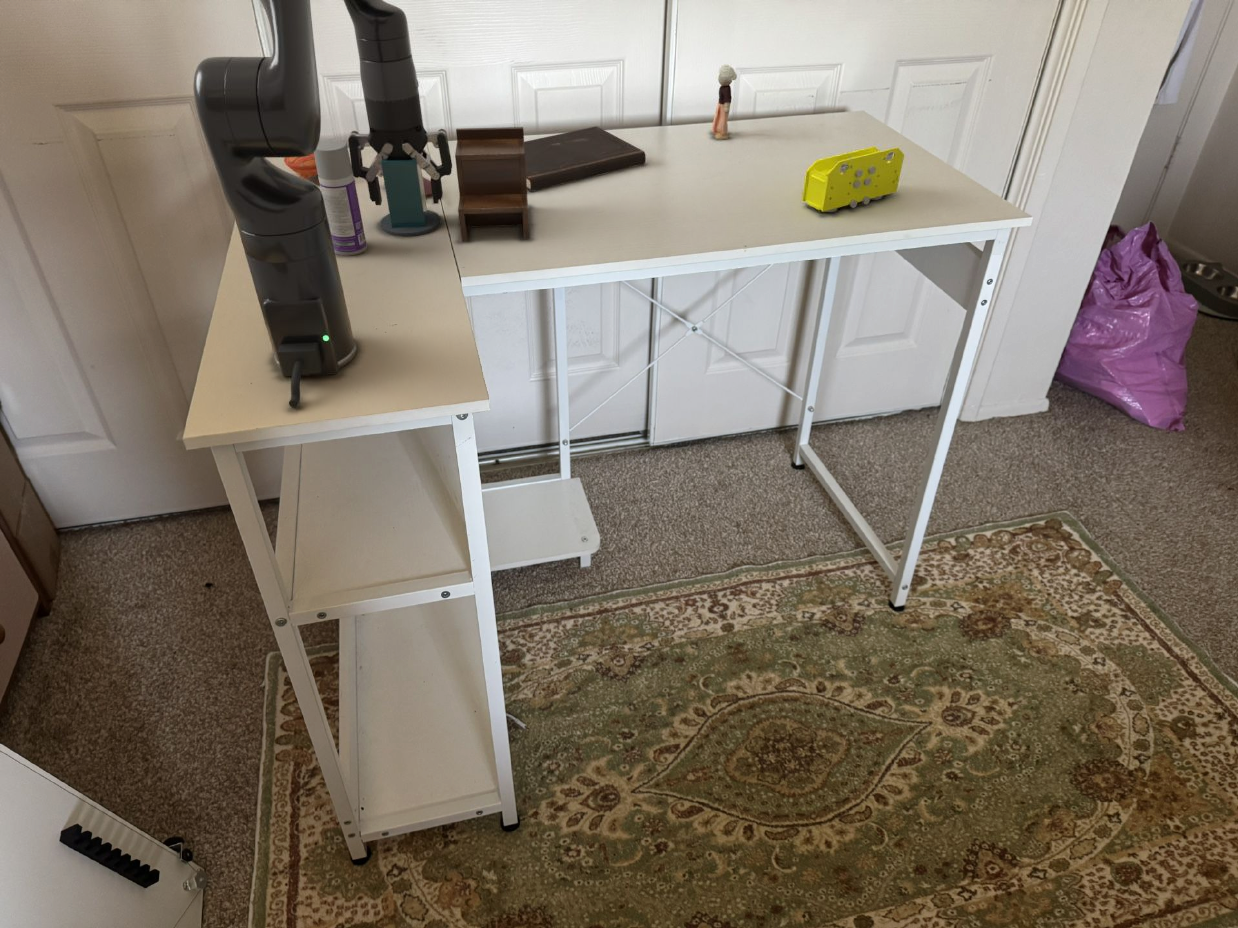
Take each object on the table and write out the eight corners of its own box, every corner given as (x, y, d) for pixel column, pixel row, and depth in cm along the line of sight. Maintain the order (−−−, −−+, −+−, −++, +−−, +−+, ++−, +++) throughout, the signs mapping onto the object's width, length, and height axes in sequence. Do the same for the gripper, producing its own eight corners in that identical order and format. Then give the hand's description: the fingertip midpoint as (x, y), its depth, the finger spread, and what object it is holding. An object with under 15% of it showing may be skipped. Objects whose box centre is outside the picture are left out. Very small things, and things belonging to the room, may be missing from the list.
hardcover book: (486, 163, 153) (485, 149, 151) (596, 138, 163) (596, 126, 161) (531, 193, 142) (530, 179, 141) (645, 165, 152) (646, 152, 151)
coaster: (438, 235, 130) (438, 232, 129) (377, 237, 129) (377, 234, 129) (442, 210, 137) (441, 207, 136) (384, 212, 136) (383, 209, 136)
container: (353, 238, 129) (333, 136, 119) (373, 247, 126) (354, 144, 117) (327, 249, 126) (304, 145, 116) (347, 258, 123) (325, 153, 114)
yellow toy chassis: (823, 218, 136) (832, 165, 130) (799, 205, 139) (807, 153, 134) (897, 197, 142) (908, 146, 137) (872, 186, 146) (882, 135, 141)
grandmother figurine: (706, 130, 167) (711, 60, 159) (725, 129, 167) (731, 59, 159) (716, 144, 161) (722, 72, 153) (736, 143, 161) (743, 71, 153)
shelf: (529, 239, 129) (524, 155, 121) (461, 241, 128) (452, 157, 120) (528, 206, 138) (523, 127, 130) (464, 208, 137) (456, 128, 129)
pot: (336, 163, 151) (330, 128, 145) (339, 190, 146) (332, 155, 141) (287, 166, 149) (279, 130, 144) (289, 193, 144) (281, 157, 139)
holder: (425, 226, 131) (416, 160, 124) (391, 227, 130) (380, 162, 124) (427, 213, 135) (418, 148, 128) (395, 214, 134) (384, 149, 128)
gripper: (334, 99, 117) (356, 214, 127) (441, 97, 118) (454, 211, 128) (342, 83, 123) (363, 194, 133) (444, 81, 124) (456, 191, 134)
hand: (407, 202), depth 131 cm, fingers open, 8 cm apart
